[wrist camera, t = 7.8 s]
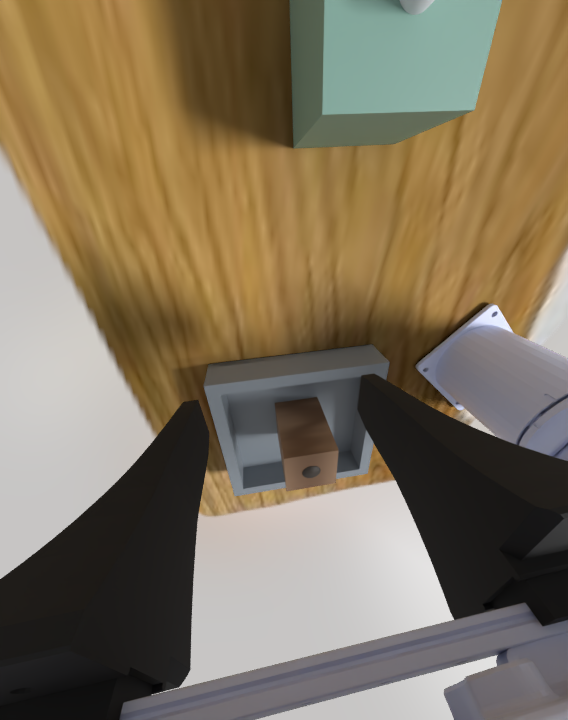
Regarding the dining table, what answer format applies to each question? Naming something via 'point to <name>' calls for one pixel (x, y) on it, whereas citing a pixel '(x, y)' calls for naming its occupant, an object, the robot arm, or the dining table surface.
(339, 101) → the green block
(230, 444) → the tray
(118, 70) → the dining table surface
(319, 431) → the walnut block
